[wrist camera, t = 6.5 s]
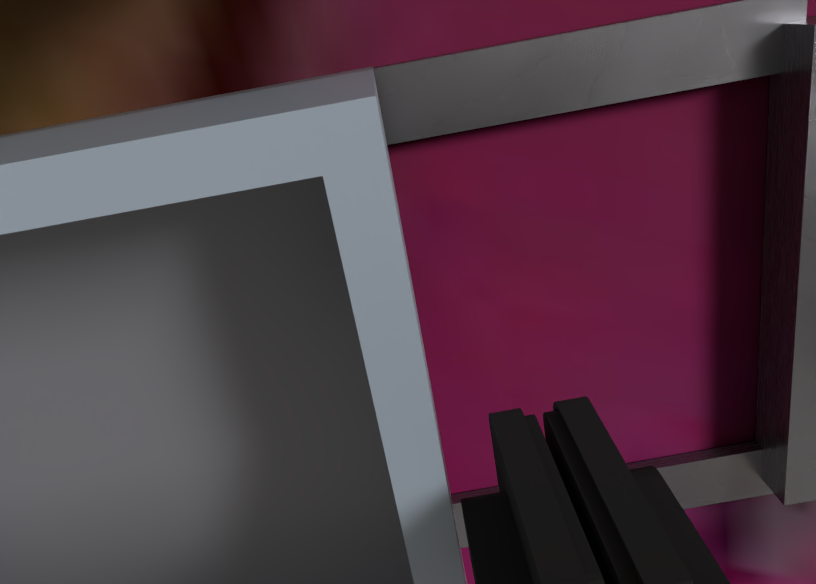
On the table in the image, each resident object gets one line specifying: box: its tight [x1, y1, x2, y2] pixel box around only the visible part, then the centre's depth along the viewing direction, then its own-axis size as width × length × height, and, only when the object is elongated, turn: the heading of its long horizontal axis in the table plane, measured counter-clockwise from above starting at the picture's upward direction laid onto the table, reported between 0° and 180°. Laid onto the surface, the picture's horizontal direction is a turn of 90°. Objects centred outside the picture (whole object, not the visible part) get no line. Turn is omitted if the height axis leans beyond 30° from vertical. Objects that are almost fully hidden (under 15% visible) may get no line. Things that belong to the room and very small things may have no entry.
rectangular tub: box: [0, 66, 467, 584], centre depth 13 cm, size 14×14×6 cm
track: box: [373, 0, 816, 548], centre depth 16 cm, size 24×13×2 cm, turn 100°
